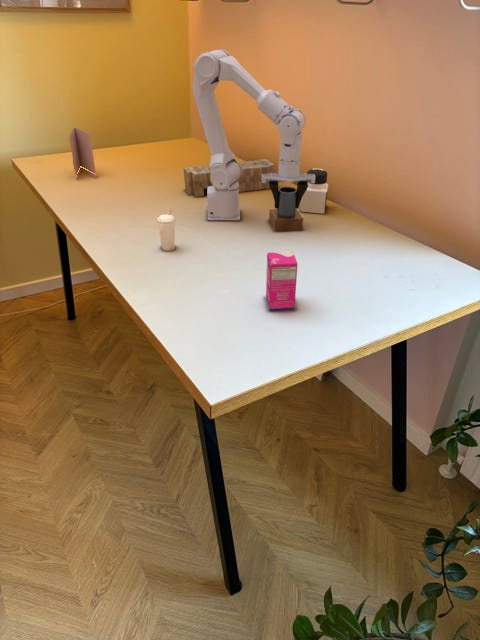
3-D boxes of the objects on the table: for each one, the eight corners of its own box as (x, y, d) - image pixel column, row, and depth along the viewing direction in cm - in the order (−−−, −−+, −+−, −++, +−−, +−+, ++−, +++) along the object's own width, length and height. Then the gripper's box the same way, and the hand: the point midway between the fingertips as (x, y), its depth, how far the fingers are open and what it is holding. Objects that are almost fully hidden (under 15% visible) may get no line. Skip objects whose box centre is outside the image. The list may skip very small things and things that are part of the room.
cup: (277, 217, 145) (278, 193, 142) (276, 210, 150) (277, 186, 146) (296, 217, 146) (298, 193, 142) (294, 210, 150) (296, 186, 146)
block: (274, 231, 146) (275, 220, 144) (268, 220, 152) (269, 209, 150) (302, 230, 147) (303, 218, 145) (295, 219, 154) (296, 208, 152)
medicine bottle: (324, 214, 157) (328, 175, 151) (301, 212, 158) (304, 173, 152) (326, 205, 163) (330, 167, 156) (303, 203, 164) (306, 165, 158)
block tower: (191, 200, 168) (274, 188, 175) (189, 174, 163) (275, 163, 171) (185, 192, 174) (266, 180, 182) (183, 167, 169) (266, 156, 177)
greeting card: (78, 170, 189) (71, 127, 181) (99, 169, 190) (93, 127, 182) (73, 180, 180) (66, 135, 172) (95, 179, 181) (89, 135, 172)
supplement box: (264, 297, 116) (266, 251, 110) (290, 296, 116) (294, 250, 110) (267, 311, 111) (270, 263, 105) (295, 310, 112) (299, 263, 105)
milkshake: (181, 244, 138) (179, 209, 133) (172, 253, 134) (170, 216, 128) (165, 242, 139) (163, 206, 134) (156, 250, 135) (153, 214, 130)
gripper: (263, 163, 136) (261, 212, 143) (318, 163, 136) (313, 212, 143) (262, 155, 142) (260, 203, 149) (314, 155, 142) (310, 203, 149)
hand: (286, 207), depth 147 cm, fingers closed on cup, 5 cm apart
